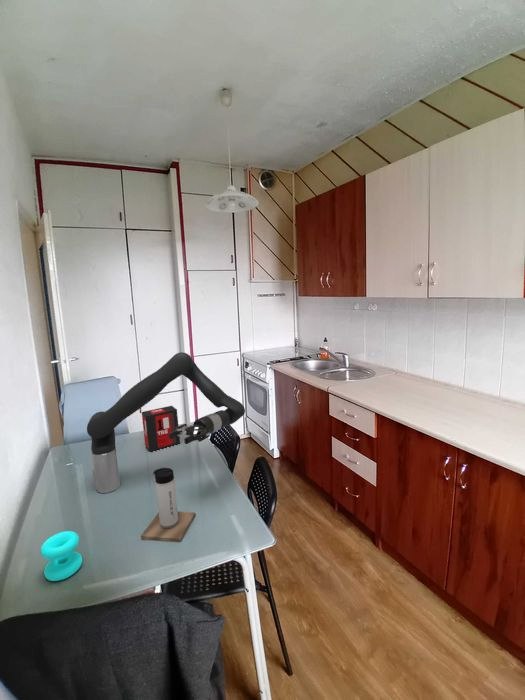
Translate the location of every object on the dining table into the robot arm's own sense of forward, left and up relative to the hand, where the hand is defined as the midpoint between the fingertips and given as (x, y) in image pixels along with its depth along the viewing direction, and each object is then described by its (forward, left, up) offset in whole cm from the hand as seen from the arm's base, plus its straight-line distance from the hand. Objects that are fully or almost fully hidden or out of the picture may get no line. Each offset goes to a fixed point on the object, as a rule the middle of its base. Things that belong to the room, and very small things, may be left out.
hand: (177, 439), depth 127 cm
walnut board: (-1, -10, -28) cm, 30 cm away
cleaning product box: (-34, +54, -29) cm, 70 cm away
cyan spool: (-25, -32, -29) cm, 50 cm away
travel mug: (-2, -10, -27) cm, 29 cm away
